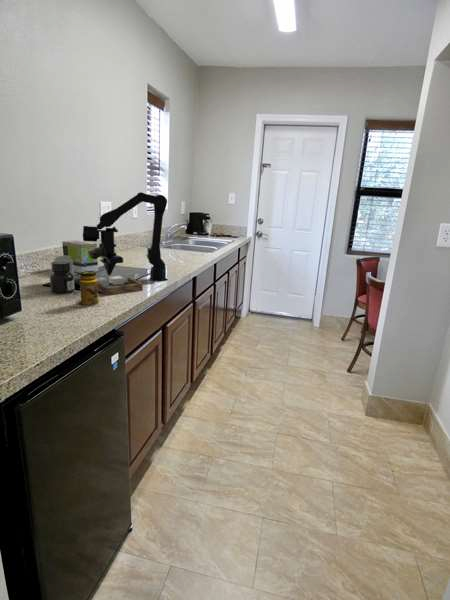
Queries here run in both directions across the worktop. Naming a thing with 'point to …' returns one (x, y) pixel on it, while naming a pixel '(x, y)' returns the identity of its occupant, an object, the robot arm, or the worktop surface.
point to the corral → (121, 288)
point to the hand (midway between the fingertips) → (109, 275)
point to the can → (66, 258)
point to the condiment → (88, 290)
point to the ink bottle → (61, 278)
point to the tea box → (81, 255)
